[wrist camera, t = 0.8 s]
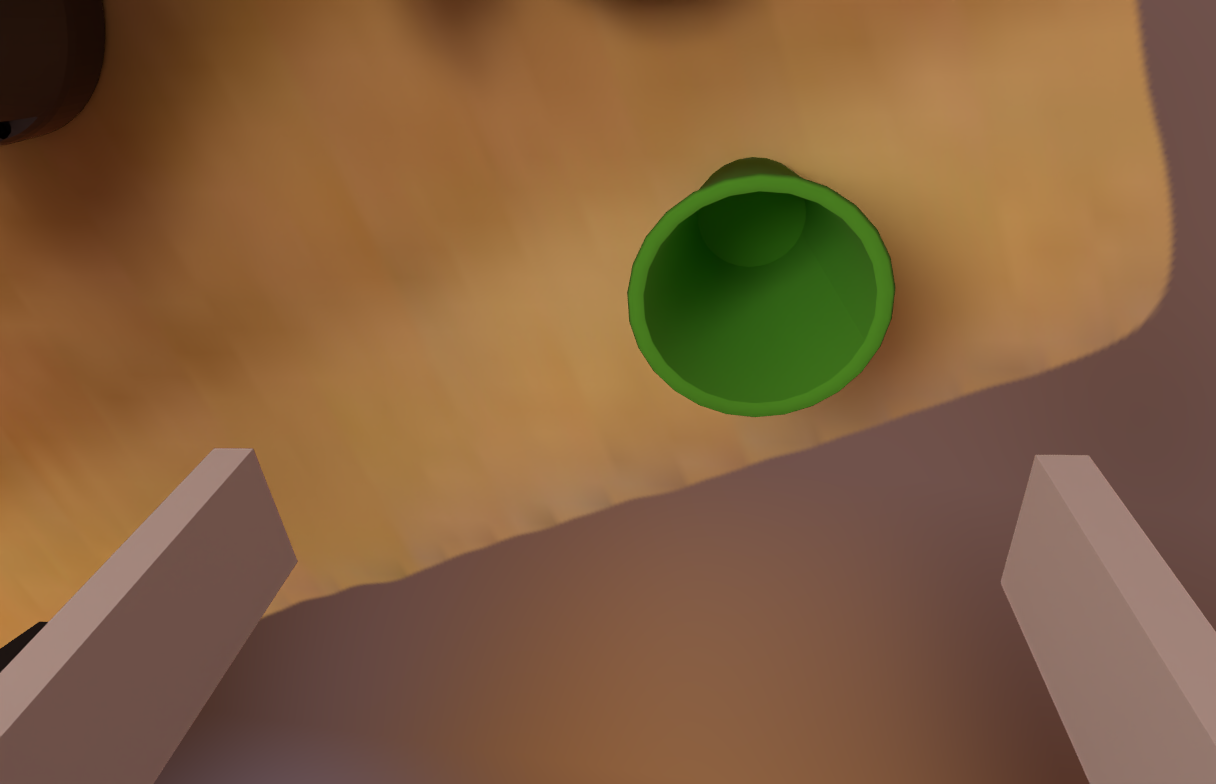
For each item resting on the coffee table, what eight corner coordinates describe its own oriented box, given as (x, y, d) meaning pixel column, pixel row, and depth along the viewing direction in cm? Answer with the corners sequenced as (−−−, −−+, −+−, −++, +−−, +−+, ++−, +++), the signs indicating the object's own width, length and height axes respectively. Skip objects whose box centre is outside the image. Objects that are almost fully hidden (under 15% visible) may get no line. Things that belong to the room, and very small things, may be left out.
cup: (691, 83, 33) (674, 137, 23) (887, 149, 33) (949, 228, 23) (631, 267, 37) (596, 374, 28) (802, 324, 38) (825, 449, 28)
